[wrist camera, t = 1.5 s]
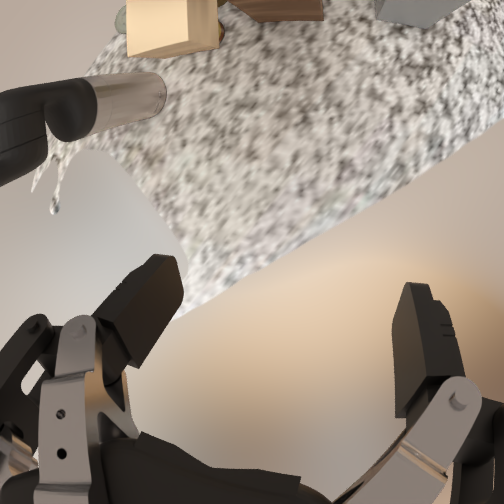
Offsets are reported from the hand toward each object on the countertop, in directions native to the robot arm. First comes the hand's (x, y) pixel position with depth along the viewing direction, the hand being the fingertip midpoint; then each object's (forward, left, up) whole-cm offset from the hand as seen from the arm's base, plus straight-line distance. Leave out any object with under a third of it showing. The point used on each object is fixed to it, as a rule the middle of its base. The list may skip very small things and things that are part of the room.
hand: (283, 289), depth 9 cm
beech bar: (-14, +16, -6) cm, 22 cm away
